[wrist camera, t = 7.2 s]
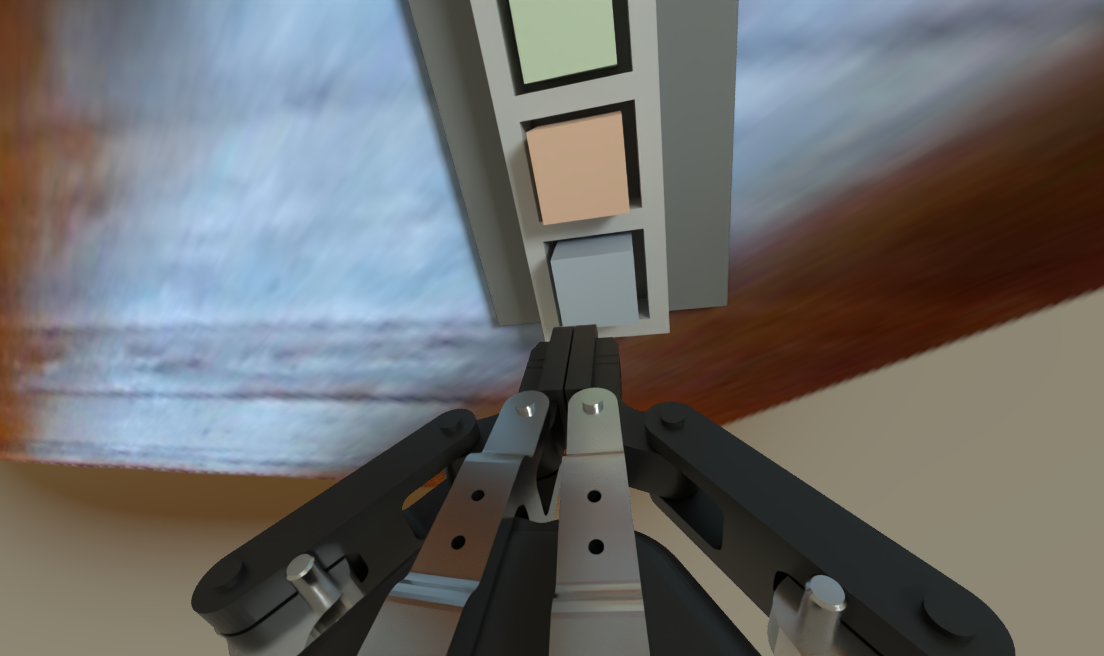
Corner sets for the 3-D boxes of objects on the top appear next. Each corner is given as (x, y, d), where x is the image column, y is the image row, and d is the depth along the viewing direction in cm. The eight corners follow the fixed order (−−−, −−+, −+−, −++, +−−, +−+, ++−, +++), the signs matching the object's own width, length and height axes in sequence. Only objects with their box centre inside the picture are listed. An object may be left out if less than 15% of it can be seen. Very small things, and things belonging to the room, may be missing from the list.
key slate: (631, 231, 21) (632, 250, 18) (636, 298, 22) (639, 323, 20) (557, 241, 21) (550, 260, 19) (568, 304, 23) (563, 330, 21)
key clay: (620, 110, 18) (621, 114, 15) (628, 197, 20) (629, 213, 17) (537, 126, 19) (525, 132, 16) (552, 208, 20) (543, 225, 18)
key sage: (607, -43, 16) (606, -65, 14) (617, 66, 18) (617, 63, 16) (518, -19, 17) (502, -35, 15) (535, 83, 19) (524, 84, 17)
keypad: (744, -381, 13) (784, -523, 10) (723, 297, 24) (737, 327, 21) (356, -220, 16) (295, -292, 13) (502, 318, 27) (489, 347, 24)
